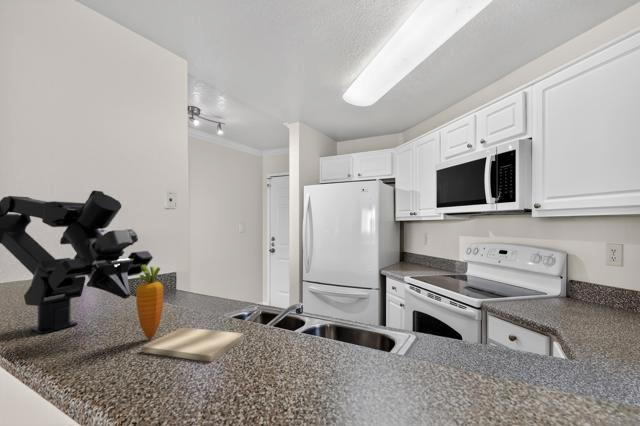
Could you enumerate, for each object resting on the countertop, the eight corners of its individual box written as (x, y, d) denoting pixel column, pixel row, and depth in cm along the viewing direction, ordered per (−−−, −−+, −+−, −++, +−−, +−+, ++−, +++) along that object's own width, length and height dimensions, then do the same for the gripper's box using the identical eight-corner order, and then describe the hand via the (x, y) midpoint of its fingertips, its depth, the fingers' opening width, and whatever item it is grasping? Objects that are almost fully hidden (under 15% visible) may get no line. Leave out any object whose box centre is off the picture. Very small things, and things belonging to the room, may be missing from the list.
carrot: (169, 337, 60) (168, 263, 60) (143, 346, 55) (143, 266, 56) (155, 333, 62) (155, 262, 63) (130, 341, 58) (130, 265, 59)
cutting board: (141, 352, 53) (141, 346, 53) (183, 332, 62) (183, 327, 62) (210, 361, 48) (210, 355, 48) (244, 338, 58) (244, 333, 58)
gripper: (58, 216, 54) (101, 278, 50) (146, 218, 72) (183, 263, 68) (31, 259, 56) (70, 321, 53) (122, 250, 74) (157, 296, 70)
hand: (127, 296), depth 61 cm, fingers closed
